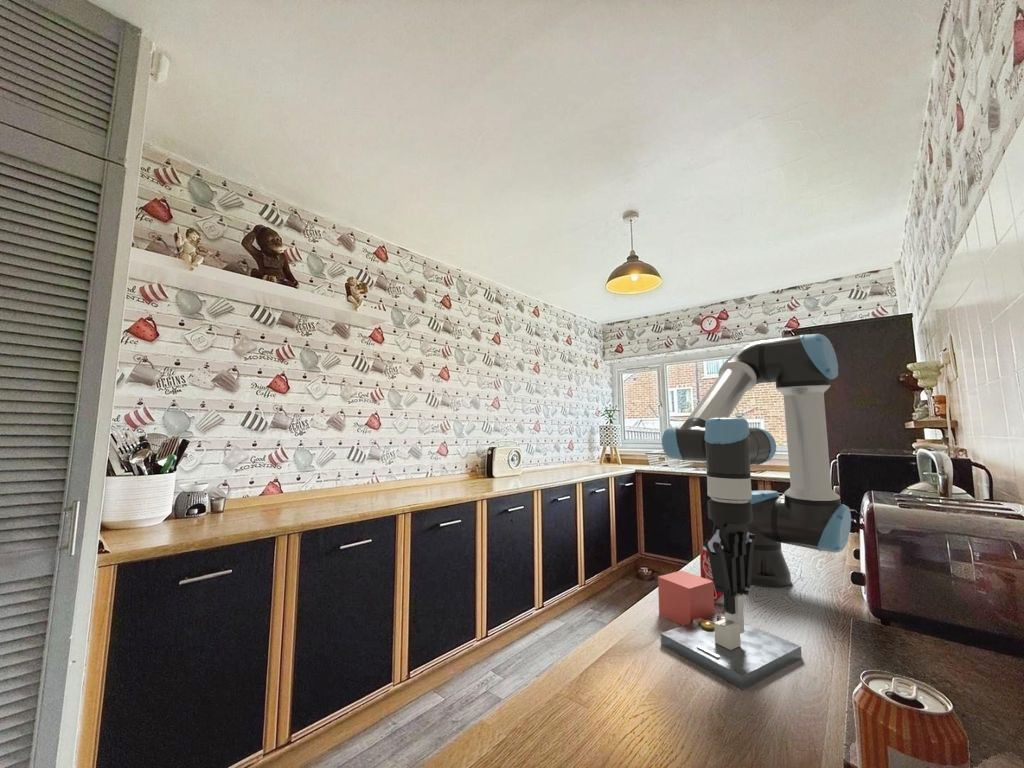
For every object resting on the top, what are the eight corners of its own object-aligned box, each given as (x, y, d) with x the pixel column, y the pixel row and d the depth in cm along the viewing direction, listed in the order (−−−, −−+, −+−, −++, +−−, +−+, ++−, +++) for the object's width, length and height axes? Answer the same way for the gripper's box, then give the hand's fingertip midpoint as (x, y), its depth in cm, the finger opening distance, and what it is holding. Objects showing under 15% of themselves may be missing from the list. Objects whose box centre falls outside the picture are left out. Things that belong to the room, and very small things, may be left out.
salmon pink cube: (682, 606, 98) (681, 570, 98) (714, 620, 91) (713, 581, 92) (659, 614, 94) (658, 576, 94) (690, 629, 87) (689, 588, 87)
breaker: (725, 638, 79) (724, 617, 79) (740, 645, 76) (739, 624, 77) (715, 642, 77) (714, 621, 78) (730, 650, 75) (729, 628, 75)
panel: (719, 622, 90) (718, 608, 90) (801, 658, 76) (800, 641, 76) (661, 644, 81) (660, 628, 81) (743, 689, 67) (742, 670, 67)
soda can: (738, 608, 97) (736, 553, 98) (705, 605, 98) (703, 552, 99) (729, 595, 104) (727, 545, 105) (698, 593, 105) (696, 543, 106)
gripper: (730, 493, 87) (736, 614, 85) (689, 499, 80) (694, 630, 78) (768, 499, 80) (775, 630, 78) (727, 505, 74) (733, 648, 72)
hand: (734, 630), depth 78 cm, fingers closed
